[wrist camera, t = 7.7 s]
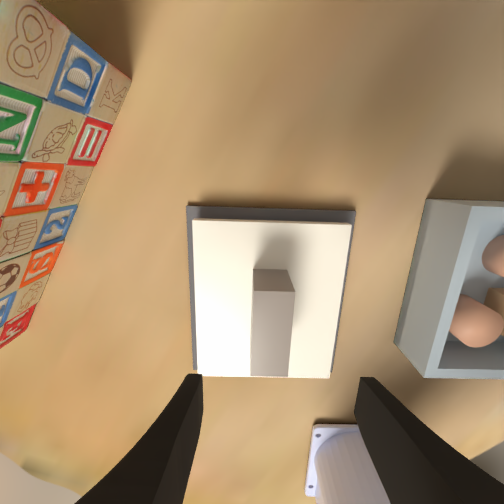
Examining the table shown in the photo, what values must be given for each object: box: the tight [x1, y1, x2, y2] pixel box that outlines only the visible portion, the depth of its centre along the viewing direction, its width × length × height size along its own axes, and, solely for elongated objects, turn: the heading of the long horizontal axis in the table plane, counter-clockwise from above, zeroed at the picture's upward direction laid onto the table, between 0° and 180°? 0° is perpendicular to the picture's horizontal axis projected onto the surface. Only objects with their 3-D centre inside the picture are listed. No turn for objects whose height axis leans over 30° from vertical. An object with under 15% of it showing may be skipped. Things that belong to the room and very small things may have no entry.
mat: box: [186, 206, 356, 372], centre depth 21 cm, size 14×12×1 cm
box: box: [394, 199, 504, 379], centre depth 19 cm, size 12×10×4 cm
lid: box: [192, 218, 352, 378], centre depth 18 cm, size 13×11×5 cm
